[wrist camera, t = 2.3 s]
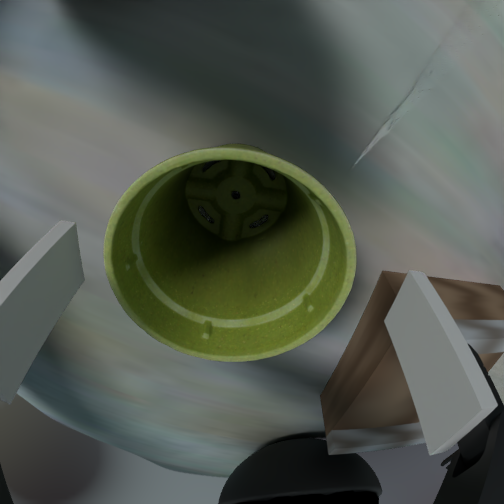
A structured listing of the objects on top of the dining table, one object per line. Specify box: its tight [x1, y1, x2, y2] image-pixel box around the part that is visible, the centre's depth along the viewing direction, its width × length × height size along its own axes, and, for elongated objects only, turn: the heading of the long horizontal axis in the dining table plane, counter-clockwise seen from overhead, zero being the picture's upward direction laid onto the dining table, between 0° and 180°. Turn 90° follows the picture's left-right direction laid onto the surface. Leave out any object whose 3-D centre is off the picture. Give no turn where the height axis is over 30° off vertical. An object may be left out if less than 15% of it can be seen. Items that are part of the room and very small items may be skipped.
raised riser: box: [320, 271, 504, 455], centre depth 23 cm, size 14×16×7 cm
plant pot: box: [104, 144, 357, 362], centre depth 15 cm, size 9×9×9 cm
